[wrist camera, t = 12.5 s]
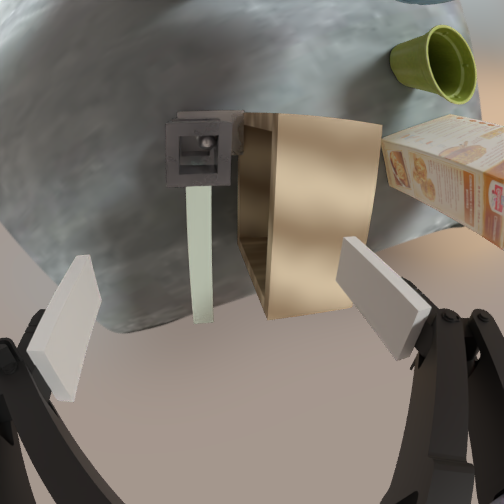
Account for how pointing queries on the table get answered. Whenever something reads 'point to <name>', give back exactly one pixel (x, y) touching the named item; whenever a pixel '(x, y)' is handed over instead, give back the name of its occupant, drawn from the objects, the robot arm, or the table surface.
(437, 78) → the plant pot
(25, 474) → the robot arm
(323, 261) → the cabinet
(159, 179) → the table surface
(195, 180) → the square frame paddle
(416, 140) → the coffeecake box
